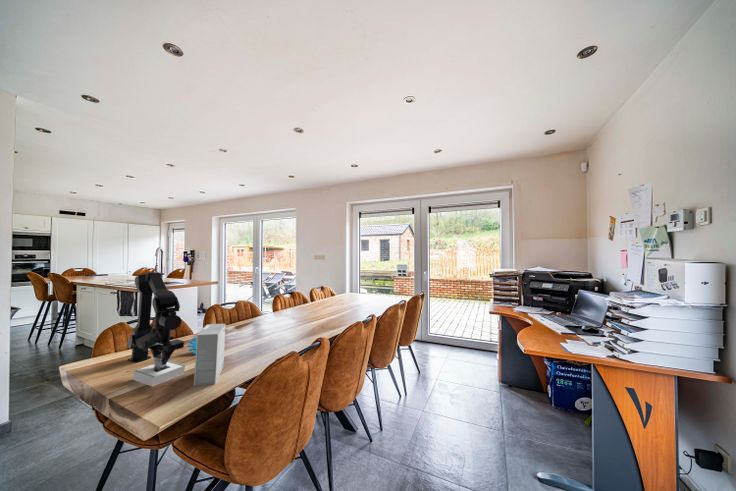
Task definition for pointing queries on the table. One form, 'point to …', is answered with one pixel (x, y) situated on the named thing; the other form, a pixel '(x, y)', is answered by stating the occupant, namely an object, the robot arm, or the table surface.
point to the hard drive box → (209, 354)
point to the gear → (193, 345)
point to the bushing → (158, 364)
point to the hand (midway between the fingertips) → (160, 363)
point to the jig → (158, 373)
